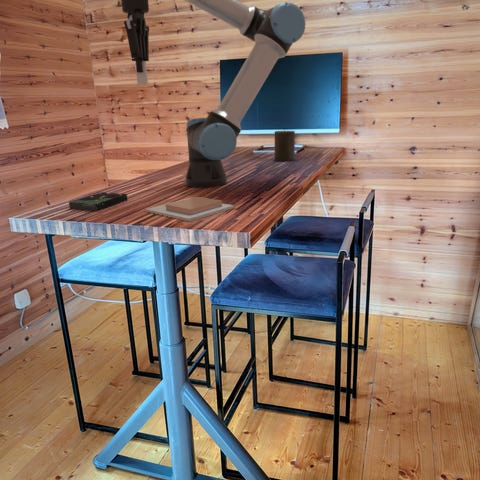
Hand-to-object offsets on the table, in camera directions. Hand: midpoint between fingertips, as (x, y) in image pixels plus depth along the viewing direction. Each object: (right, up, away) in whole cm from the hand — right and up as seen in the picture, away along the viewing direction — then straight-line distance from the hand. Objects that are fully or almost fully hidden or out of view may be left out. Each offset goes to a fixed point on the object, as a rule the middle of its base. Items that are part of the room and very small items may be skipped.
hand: (142, 84), depth 133 cm
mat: (+15, -38, -9) cm, 42 cm away
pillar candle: (+51, -8, +81) cm, 97 cm away
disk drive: (-14, -37, +2) cm, 39 cm away
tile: (+13, -36, -7) cm, 39 cm away
